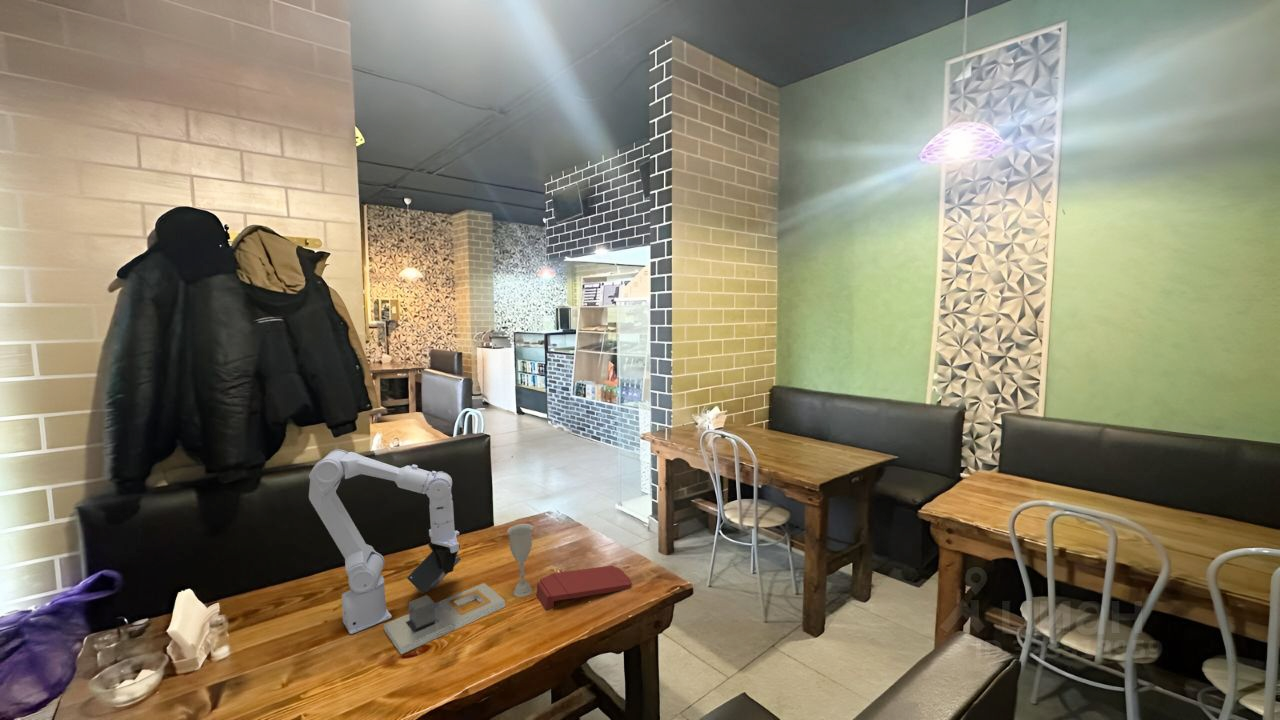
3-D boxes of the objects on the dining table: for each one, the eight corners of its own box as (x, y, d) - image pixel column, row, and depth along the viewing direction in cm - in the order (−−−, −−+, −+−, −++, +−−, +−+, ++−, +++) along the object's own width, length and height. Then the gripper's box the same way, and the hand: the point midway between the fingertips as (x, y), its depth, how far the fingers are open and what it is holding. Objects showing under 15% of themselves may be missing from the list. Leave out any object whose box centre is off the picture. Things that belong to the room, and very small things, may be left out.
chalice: (528, 600, 132) (526, 535, 130) (505, 597, 133) (502, 534, 132) (539, 585, 139) (537, 524, 137) (517, 583, 140) (514, 522, 139)
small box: (433, 590, 139) (422, 595, 129) (418, 574, 139) (405, 578, 130) (462, 559, 142) (453, 562, 132) (446, 544, 143) (436, 545, 133)
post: (416, 637, 117) (414, 609, 117) (410, 629, 121) (408, 602, 120) (435, 629, 120) (434, 602, 120) (428, 621, 124) (427, 594, 123)
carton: (614, 580, 148) (533, 592, 136) (615, 564, 148) (535, 575, 136) (633, 600, 138) (548, 615, 125) (635, 583, 138) (550, 596, 125)
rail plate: (400, 654, 111) (400, 646, 111) (384, 630, 120) (384, 623, 120) (505, 606, 129) (504, 599, 129) (484, 589, 138) (484, 582, 138)
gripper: (469, 522, 126) (472, 573, 127) (445, 508, 136) (449, 555, 137) (441, 531, 121) (445, 584, 122) (419, 516, 131) (423, 564, 133)
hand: (445, 569), depth 129 cm, fingers open, 3 cm apart
